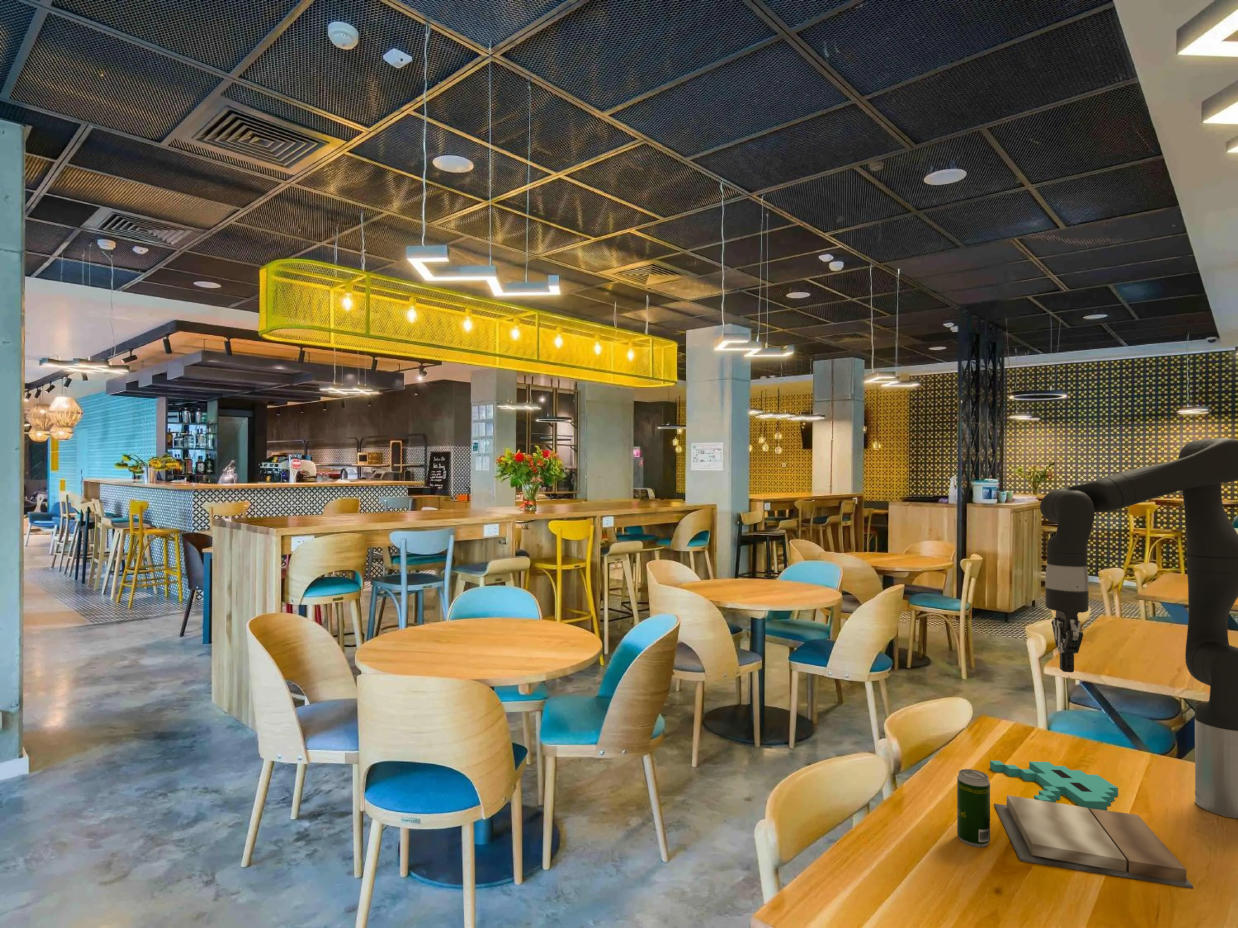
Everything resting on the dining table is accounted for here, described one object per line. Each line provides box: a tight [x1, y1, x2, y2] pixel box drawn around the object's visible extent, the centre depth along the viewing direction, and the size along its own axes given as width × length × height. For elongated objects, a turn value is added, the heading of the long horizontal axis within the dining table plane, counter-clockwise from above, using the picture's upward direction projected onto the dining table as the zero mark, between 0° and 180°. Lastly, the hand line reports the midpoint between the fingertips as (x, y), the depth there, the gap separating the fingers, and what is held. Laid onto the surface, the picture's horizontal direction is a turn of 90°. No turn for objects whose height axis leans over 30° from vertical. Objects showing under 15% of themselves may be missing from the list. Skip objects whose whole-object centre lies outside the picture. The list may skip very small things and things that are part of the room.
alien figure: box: [989, 760, 1119, 811], centre depth 151 cm, size 20×2×20 cm
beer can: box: [956, 768, 991, 848], centre depth 129 cm, size 5×5×12 cm
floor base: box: [993, 803, 1194, 889], centre depth 129 cm, size 25×22×2 cm
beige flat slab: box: [1006, 794, 1126, 872], centre depth 130 cm, size 14×20×2 cm
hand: (1066, 671), depth 145 cm, fingers closed
